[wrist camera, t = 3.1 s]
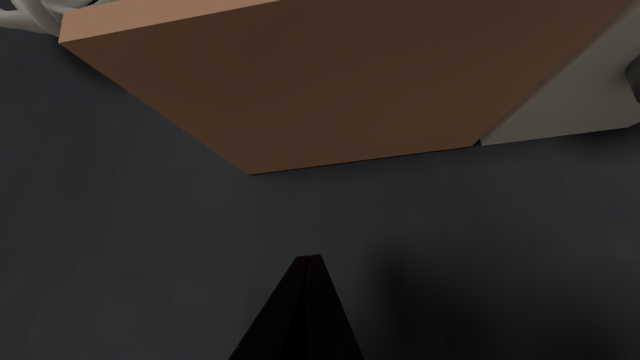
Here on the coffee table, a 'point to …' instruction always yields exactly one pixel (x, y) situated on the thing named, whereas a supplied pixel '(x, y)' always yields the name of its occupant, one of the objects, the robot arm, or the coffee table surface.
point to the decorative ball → (41, 14)
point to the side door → (330, 69)
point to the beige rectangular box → (583, 87)
